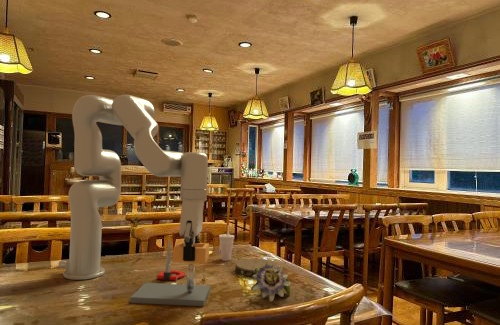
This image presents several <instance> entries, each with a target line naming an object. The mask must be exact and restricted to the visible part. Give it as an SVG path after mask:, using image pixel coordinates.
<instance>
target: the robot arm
mask: <svg viewBox="0 0 500 325" xmlns="http://www.w3.org/2000/svg"><path fill="white" fill-rule="evenodd" d="M154 117H155V108H154V105H153V104H152V102H150V101H149V100H148V99H144V98H142V97H138V96H134V95H131V94H120V95H117V96H115V98H114V99H113V98H109V97H104V96H101V95H97V94H96V95H95V94H87V95H83V96H80V97H79V98H78V99H77V100H76V101H75V103H74V105H73V108H72V113H71V118H72V119H71V120H72V127H73V132H74V144H73V145H74V146H73V147H74V154H73V156H74V159H73V161H74V163H73V165H74V171H75V172H76V174H78V175H80V176H83V177H84V176H85V177H98V178H99V179H86V180H79V181H77V182H74V183H73V184H72V185H71V186H70V188H69V190H68V203H69V209H70V234H69V235H70V237H69V260H68V261H67V260H59V261H58V263H57V264H58V265H57V268H59V269H65V270H64V271H63V277H64V278H65V279H67V280H71V281H72V280H76V281H77V280H78V281H79V280H81V281H82V280H83V281H84V280H90V279H95V278H99V277H101V276H103V275H104V274H105V272H106V270H105V268H104V267H102V266H101V256H102V255H101V253H102V228H103V225H102V224H103V221H102V216H101V214H100V213H99V210H98V208H107V207H112V206H115V205H116V204H117V203H118V201H119V200H120V197H121V194H122V191H121V190H122V161H121V159H120V156H119V155H118V154H117V152H116V151H114V150H111V149H103V136H102V131H101V129H100V128H99V126H98V124H97V122H98V123H104V124H110V125H116V126H123V127H124V128H125V130H127V132H128V133H129V134H130V136H131V137H132V138H133V139H134V140H133V150H134V152H135V156H136V157H137V159H138V160H139V162H140V163H141V164H142V165H143V167H144V168H145V169H146V170H147V172H149V173H150V174H152V175H153V176H156V177H160V178H165V177H166V178H167V177H171V178H172V177H173V178H177V177H178V178H179V177H180V191H179V192H180V196H179V200H180V201H182V203H181V212H180V219H179V220H180V222H179V236H180V237H184V238H183V239H184V240H183V243H184V247H183V261H194V260H195V246H194V243H201V238H200V237H201V236H200V234H201V232H202V230H203V222H204V221H203V220H204V218H203V217H204V216H203V213H204V212H203V211H204V202H206V201H207V198H208V197H207V196H208V166H209V165H208V164H209V162H208V161H209V158H208V154H206V153H205V152H200V151H199V152H197V151H195V152H193V151H190V152H189V151H187V152H181V151H173V150H163V149H162V148H161V147H160V146H159V144H157V142H156V140H154V137H156V135H157V134H158V131H159V125H158V122H157V120H155V118H154Z"/></svg>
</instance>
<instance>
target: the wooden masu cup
mask: <svg viewBox="0 0 500 325" xmlns="http://www.w3.org/2000/svg"><path fill="white" fill-rule="evenodd" d="M194 246H195V260H194V261H183V247H184V242H179V241H178V243H177V244H176V245H175V246H173V253H172V254H173V255H172V259H173V260H172V262H174V263H192V264H193V263H198V264H206V263H207V261H208V260H209V257H210V243H205V242H200V243H194Z"/></svg>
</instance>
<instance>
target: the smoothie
mask: <svg viewBox="0 0 500 325" xmlns="http://www.w3.org/2000/svg"><path fill="white" fill-rule="evenodd" d="M218 239H219V246H220V256H221V257H220V259H221V260H222V261H225V262H226V261H227V262H228V261H230V260H232V252H233V247H234V239H235V235H233V234H230V225H229V224H228V225H227V234H226V233H224V234H219V236H218Z"/></svg>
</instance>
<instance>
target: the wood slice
mask: <svg viewBox="0 0 500 325" xmlns="http://www.w3.org/2000/svg"><path fill="white" fill-rule="evenodd" d="M267 261H269V262H270V264H271V265H273V268H274V267H275V268H277V267H280V264H279V262H276V261H274V260H270V259H266V258H265V259H264V258H244V259H240V260H238V261H236V262H235V273H236V274H237V275H238V276H241V277H245V278H250V279H254V278H253V277H252V276H253V275H254V274H253V272H252V269H253V271H255V268H258V269H260V268H263V267H264V266H265V265H266V262H267ZM257 272H258V271H257ZM255 274H256V272H255Z"/></svg>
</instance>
